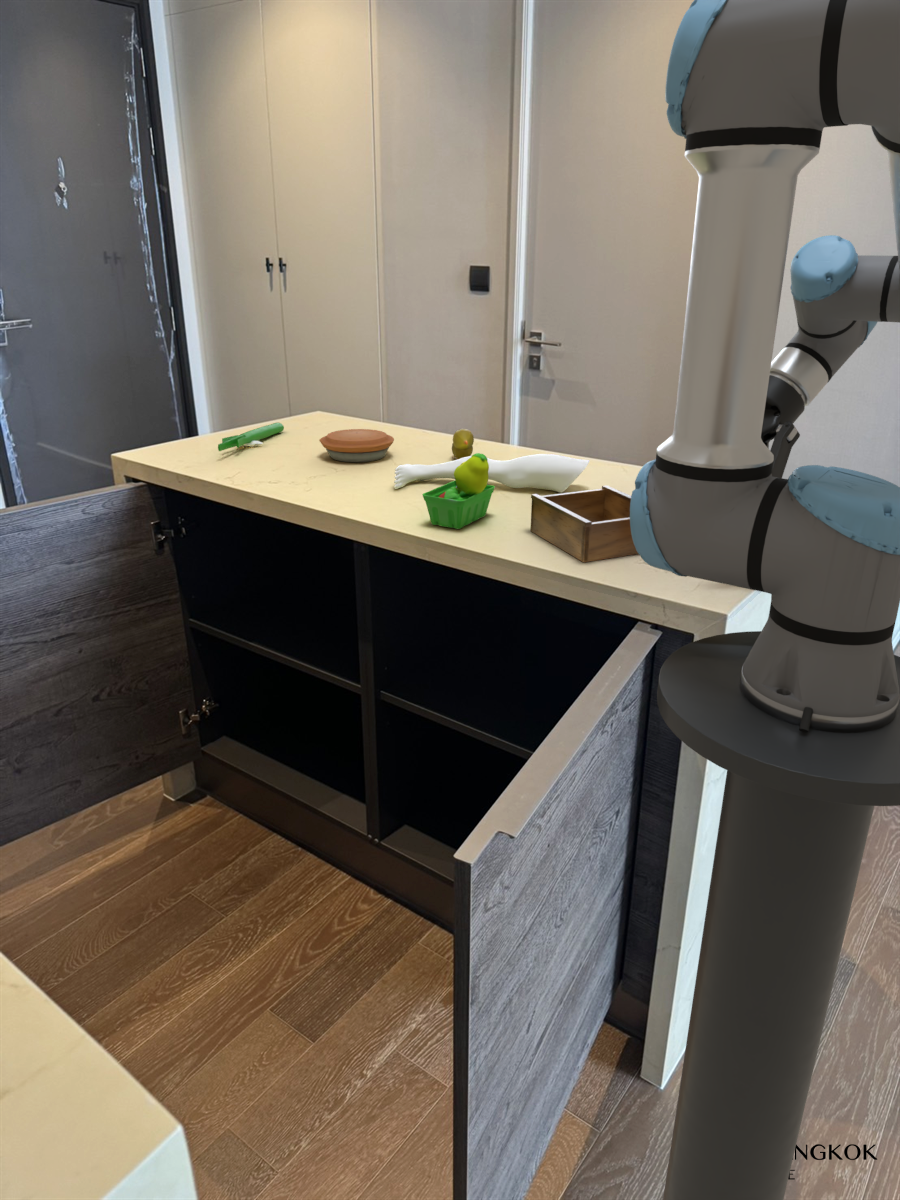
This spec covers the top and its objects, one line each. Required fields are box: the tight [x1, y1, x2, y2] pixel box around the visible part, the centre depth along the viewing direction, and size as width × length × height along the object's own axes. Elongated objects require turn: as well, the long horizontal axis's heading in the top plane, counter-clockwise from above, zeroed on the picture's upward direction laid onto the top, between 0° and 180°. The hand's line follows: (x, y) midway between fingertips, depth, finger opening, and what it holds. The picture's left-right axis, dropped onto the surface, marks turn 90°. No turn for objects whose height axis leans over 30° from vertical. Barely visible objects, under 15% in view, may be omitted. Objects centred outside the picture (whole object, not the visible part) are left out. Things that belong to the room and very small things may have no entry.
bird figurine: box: [451, 428, 475, 459], centre depth 178 cm, size 4×15×6 cm, turn 6°
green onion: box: [217, 422, 285, 452], centre depth 190 cm, size 5×3×30 cm
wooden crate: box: [530, 484, 639, 563], centre depth 129 cm, size 16×14×6 cm
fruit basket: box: [422, 452, 496, 530], centre depth 137 cm, size 11×9×11 cm
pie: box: [318, 428, 395, 463], centre depth 180 cm, size 15×16×5 cm
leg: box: [393, 453, 591, 494], centre depth 157 cm, size 7×35×10 cm
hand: (680, 511), depth 116 cm, fingers open, 13 cm apart
